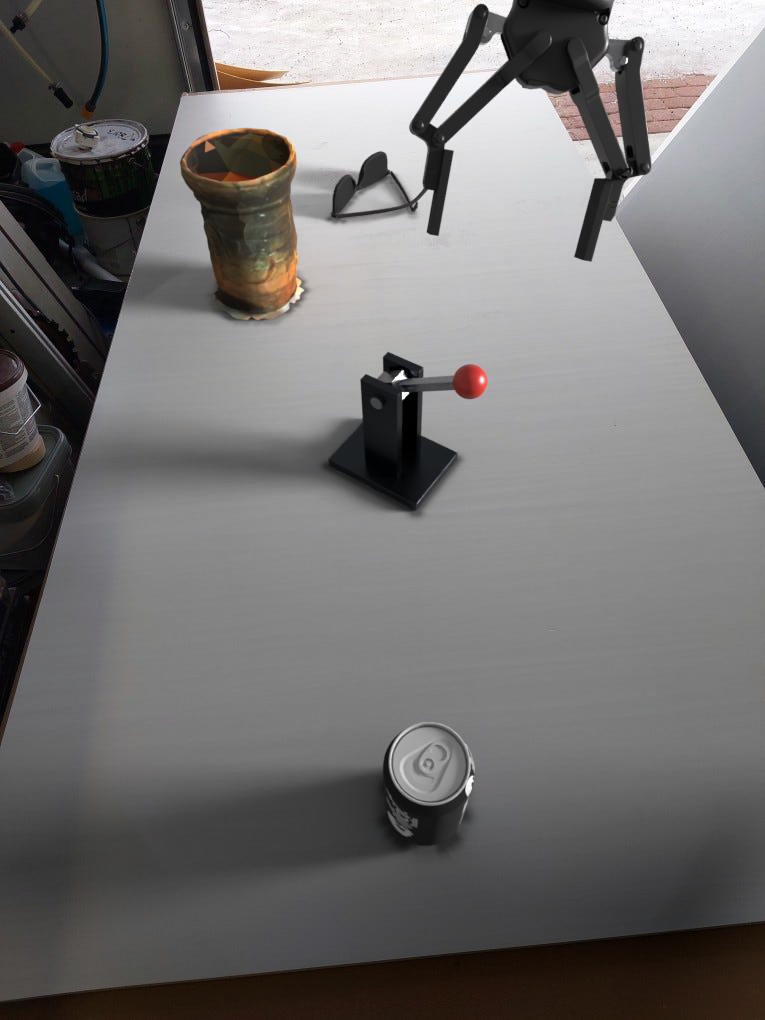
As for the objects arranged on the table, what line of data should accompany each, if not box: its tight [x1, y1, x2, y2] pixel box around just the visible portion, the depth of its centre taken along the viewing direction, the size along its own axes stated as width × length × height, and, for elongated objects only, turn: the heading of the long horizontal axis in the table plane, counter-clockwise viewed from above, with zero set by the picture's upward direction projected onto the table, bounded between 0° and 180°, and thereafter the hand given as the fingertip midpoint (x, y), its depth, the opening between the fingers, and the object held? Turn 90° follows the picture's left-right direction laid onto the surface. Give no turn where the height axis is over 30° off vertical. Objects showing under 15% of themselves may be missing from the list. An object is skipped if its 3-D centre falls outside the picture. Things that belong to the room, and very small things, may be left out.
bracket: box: [327, 351, 459, 512], centre depth 75 cm, size 12×9×14 cm
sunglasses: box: [330, 150, 428, 220], centre depth 111 cm, size 17×14×5 cm
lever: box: [376, 363, 488, 400], centre depth 67 cm, size 13×3×3 cm, turn 56°
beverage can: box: [382, 721, 476, 847], centre depth 53 cm, size 7×7×12 cm
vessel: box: [179, 127, 305, 321], centre depth 92 cm, size 14×14×20 cm
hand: (508, 247), depth 60 cm, fingers open, 13 cm apart
